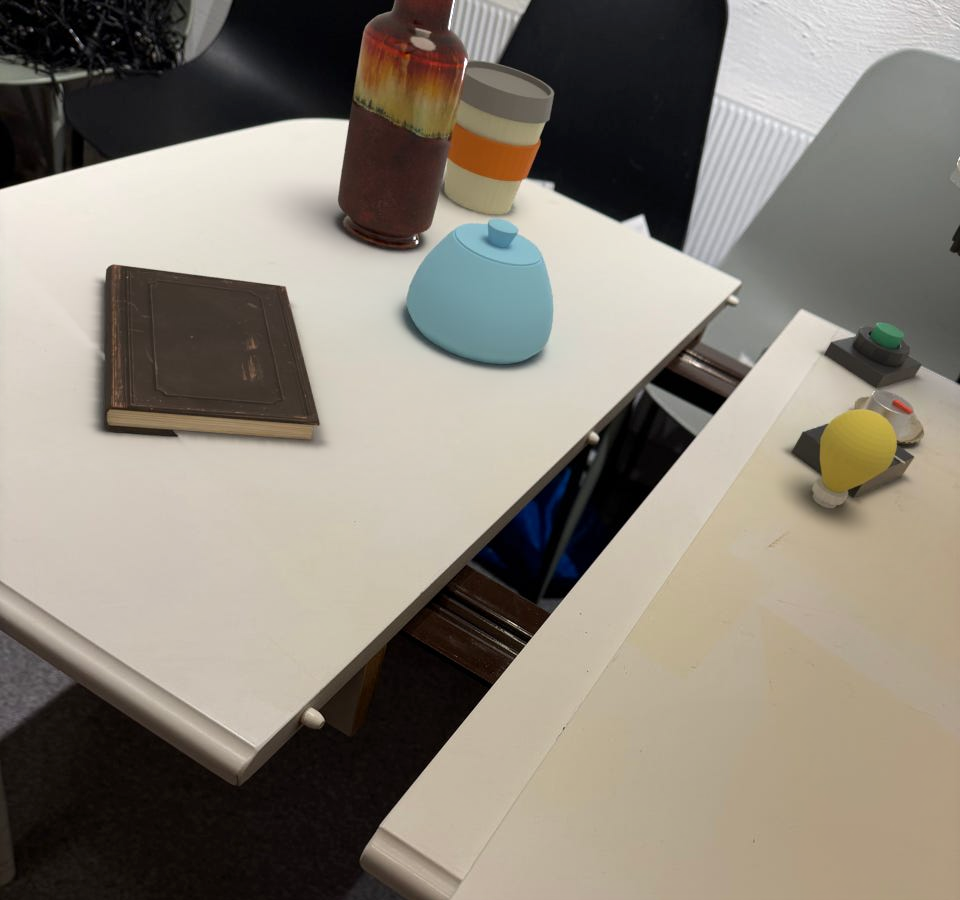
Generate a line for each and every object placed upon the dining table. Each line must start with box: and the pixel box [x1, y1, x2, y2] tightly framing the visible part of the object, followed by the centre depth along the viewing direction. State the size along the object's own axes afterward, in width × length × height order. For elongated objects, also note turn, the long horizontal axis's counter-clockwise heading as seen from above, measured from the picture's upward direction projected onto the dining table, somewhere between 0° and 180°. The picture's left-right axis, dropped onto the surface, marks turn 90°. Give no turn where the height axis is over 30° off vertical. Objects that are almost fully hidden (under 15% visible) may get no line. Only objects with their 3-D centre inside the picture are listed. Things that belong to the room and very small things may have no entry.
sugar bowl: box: [406, 218, 554, 365], centre depth 96 cm, size 15×15×12 cm
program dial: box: [863, 389, 915, 439], centre depth 98 cm, size 4×4×5 cm
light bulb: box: [811, 409, 898, 509], centre depth 90 cm, size 7×7×10 cm
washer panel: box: [790, 422, 915, 498], centre depth 100 cm, size 11×9×3 cm
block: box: [823, 325, 923, 389], centre depth 120 cm, size 10×8×4 cm
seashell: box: [853, 396, 925, 445], centre depth 109 cm, size 8×3×8 cm
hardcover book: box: [103, 264, 321, 441], centre depth 83 cm, size 16×23×2 cm
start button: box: [870, 321, 905, 349], centre depth 119 cm, size 4×4×2 cm
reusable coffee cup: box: [443, 59, 555, 216], centre depth 123 cm, size 13×13×15 cm
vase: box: [337, 0, 469, 251], centre depth 104 cm, size 11×11×26 cm
